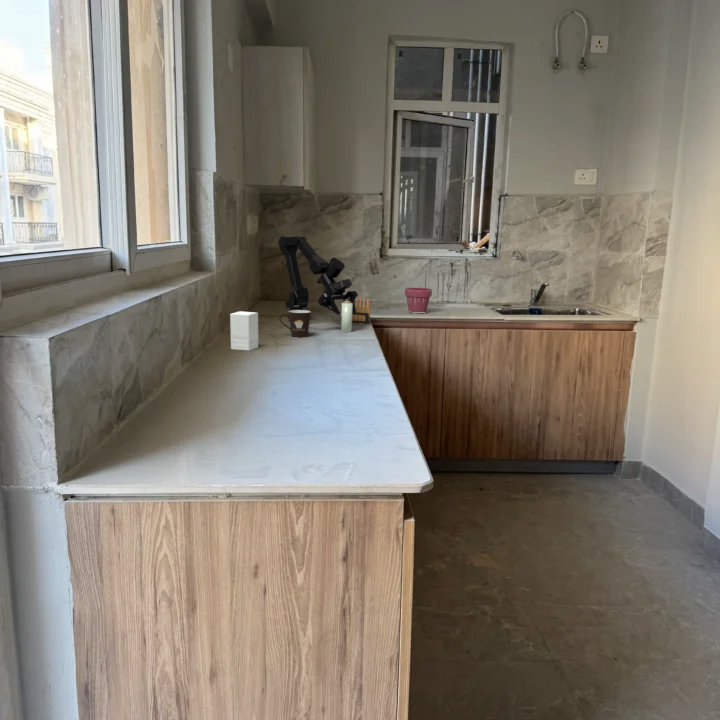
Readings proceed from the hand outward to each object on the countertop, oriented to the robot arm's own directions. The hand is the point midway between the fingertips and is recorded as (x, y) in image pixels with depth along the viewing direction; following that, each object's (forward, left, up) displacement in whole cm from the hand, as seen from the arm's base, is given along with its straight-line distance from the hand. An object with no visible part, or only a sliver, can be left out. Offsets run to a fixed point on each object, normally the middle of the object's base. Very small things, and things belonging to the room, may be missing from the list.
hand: (347, 313), depth 258 cm
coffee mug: (-20, -15, -8) cm, 26 cm away
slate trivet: (-10, +9, -8) cm, 15 cm away
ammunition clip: (+5, +25, -8) cm, 27 cm away
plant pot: (+38, +68, -8) cm, 78 cm away
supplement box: (-36, -43, -8) cm, 57 cm away
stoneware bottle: (0, 0, -8) cm, 8 cm away
